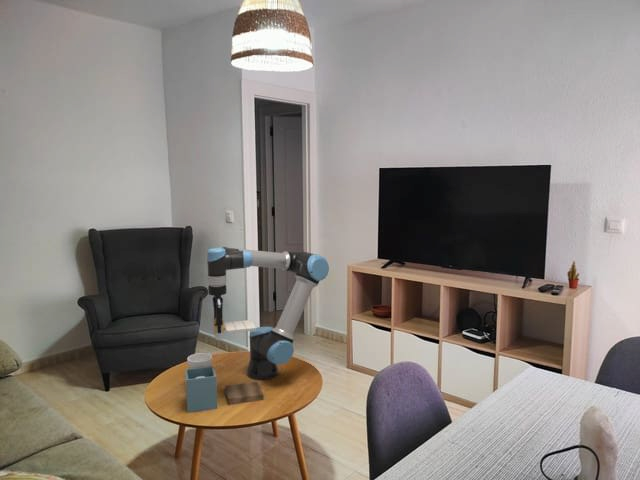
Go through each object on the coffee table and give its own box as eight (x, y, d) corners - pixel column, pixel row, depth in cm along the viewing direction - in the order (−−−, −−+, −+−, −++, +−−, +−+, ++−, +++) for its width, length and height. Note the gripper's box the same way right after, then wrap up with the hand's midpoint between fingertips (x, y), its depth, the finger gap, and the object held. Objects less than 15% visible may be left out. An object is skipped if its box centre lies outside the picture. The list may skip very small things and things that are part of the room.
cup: (183, 389, 225) (181, 359, 223) (197, 380, 235) (196, 351, 234) (204, 393, 221) (202, 363, 219) (217, 383, 231) (217, 354, 229)
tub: (214, 396, 218) (213, 365, 217) (217, 408, 207) (216, 376, 205) (186, 400, 215) (185, 369, 213) (187, 412, 204) (186, 380, 202)
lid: (251, 325, 223) (251, 312, 222) (256, 333, 211) (256, 319, 210) (212, 328, 218) (212, 315, 217) (215, 337, 206) (214, 323, 205)
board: (257, 386, 228) (257, 381, 228) (263, 399, 215) (263, 394, 215) (224, 391, 224) (224, 385, 223) (228, 404, 210) (228, 399, 210)
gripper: (206, 281, 216) (208, 333, 219) (210, 289, 201) (211, 345, 204) (223, 280, 218) (225, 331, 222) (228, 288, 203) (230, 343, 206)
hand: (218, 338), depth 213 cm, fingers closed on lid, 3 cm apart
